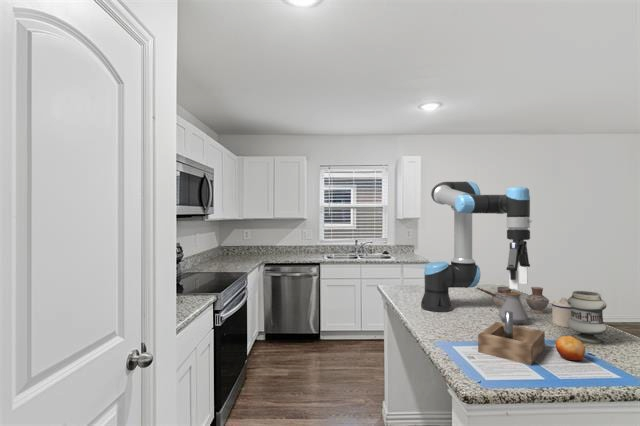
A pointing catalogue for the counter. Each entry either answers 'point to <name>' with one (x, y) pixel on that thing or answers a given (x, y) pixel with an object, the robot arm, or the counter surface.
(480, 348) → the walnut box
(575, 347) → the fruit
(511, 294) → the coffee pot
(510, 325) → the metal post
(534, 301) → the pottery
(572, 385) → the counter surface
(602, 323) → the apothecary jar
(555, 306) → the teacup with lid
